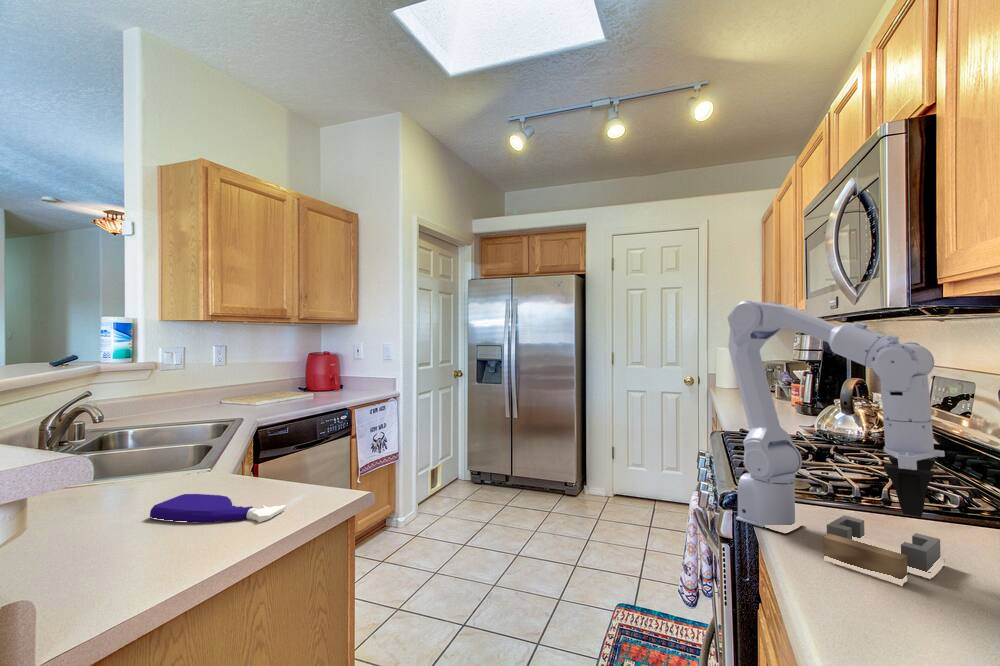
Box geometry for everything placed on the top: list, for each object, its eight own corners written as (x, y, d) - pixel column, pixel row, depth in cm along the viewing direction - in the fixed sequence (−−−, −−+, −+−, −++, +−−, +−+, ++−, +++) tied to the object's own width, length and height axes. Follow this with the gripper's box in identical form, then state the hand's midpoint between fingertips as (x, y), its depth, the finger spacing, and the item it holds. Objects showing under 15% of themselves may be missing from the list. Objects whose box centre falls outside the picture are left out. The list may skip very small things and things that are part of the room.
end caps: (826, 542, 80) (826, 524, 81) (844, 531, 85) (844, 515, 85) (926, 572, 70) (926, 551, 70) (940, 558, 75) (940, 539, 75)
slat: (823, 561, 76) (823, 536, 76) (829, 557, 77) (829, 533, 77) (902, 587, 68) (901, 559, 68) (907, 582, 69) (906, 555, 69)
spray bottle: (144, 508, 92) (258, 516, 89) (187, 491, 103) (290, 498, 100) (143, 523, 92) (257, 531, 89) (187, 504, 103) (290, 511, 100)
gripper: (942, 427, 65) (950, 527, 64) (941, 417, 75) (948, 503, 74) (877, 423, 69) (883, 516, 69) (885, 414, 80) (891, 495, 79)
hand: (913, 509), depth 72 cm, fingers open, 7 cm apart
